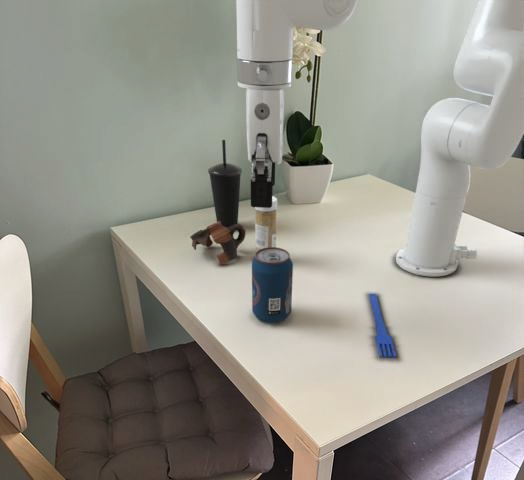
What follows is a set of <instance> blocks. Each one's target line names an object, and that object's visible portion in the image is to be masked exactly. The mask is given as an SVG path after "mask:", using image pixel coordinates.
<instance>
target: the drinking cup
mask: <svg viewBox="0 0 524 480" xmlns="http://www.w3.org/2000/svg"><path fill="white" fill-rule="evenodd" d="M221 143H222V146H221V147H222V162H221V163H217V164H214V165H213V166H211V167H209V168H208V169H207V173H208V175H209V180H210V186H211V187H210V188H211V193H212V199H213V200H212V201H213V206H214V207H213V208H214V213H215V218H216V219H215V220H216V222H221V224H222V226H224V227H230V226H232V225H234V224H239V207H240V191H241V175H242V172H243V169H242V167H241V166H238V165H236V164H234V163H229V162H227V150H226V149H227V147H226V139H222V140H221Z"/></svg>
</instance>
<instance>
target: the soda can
mask: <svg viewBox="0 0 524 480" xmlns="http://www.w3.org/2000/svg"><path fill="white" fill-rule="evenodd" d="M293 273H294V262H293V261H292V259H291V254H290V252H289V251H287V250H286V249H284V248H281V247H277V246H276V247H269V248H263V249H260V250H259V251H257V252H256V251H255V254H254V258H253V260H252V262H251V311H252V314H253V315H254V316H255V318H256V320H257V321H259V322H261V323H262V324H266V325H278V324H281V323H283V322H285V321H286V320H287V318H288V317H289V316H290V314H291V313H292V300H293V298H292V297H293V277H294V274H293Z"/></svg>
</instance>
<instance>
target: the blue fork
mask: <svg viewBox="0 0 524 480" xmlns="http://www.w3.org/2000/svg"><path fill="white" fill-rule="evenodd" d="M368 296H369V299H370V304H371V308H372V309H371V310H372V313H373V317H374V321H375V325H376V326H375V330H376V334H377V335H374V338H375V342H376V346H377V351H378V356H379V358H383V356H384V358H387V357H388V358H392V356H393V358H394V359H395V358H397V354H396V349H395V346H394V342H393V338H392V335H388V330H387V327H386V326H385V324H384V319H383V316H382V313H381V308H380V305H379V301H378V296H377V293H369V295H368ZM382 353H383V354H382ZM387 354H388V355H387Z"/></svg>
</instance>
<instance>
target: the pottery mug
mask: <svg viewBox="0 0 524 480" xmlns="http://www.w3.org/2000/svg"><path fill="white" fill-rule="evenodd" d="M236 231H237V232H238V235H237V237H236V238H235V237H234V234H235V232H236ZM246 233H247V232H246V229H245V227H244V226H243V225H242V224H239V223H238V224H234V225H232V226H230V227H224V226H222V224H221V222H217V221H216V222H214V223H212V224H210V225H208V226H207V227H206V228H204V229H200V230H198V231H196V232H195V233H193V234H192V235H191V236H190V239H191V241H192V242H191V247H192V248H193V250H195V251H196V250H197V246H198V245H202V246H204V247H206V248H210V247H212V245H213V244H214V243H215V244H217V245H220V246H221V248H222V250H223V251H222V252H221V253H219V254H218V255H216V259H217V261H218V263H219V265H220V266H222V265H223V266H224V265H225V264H227V263H229V262H231V261H233V260H235V259H236V258H237V257H238V248H239V246H240V245H241V244H242V243H243V242H244V241H245V239H246ZM211 238H212V239H211Z"/></svg>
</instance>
